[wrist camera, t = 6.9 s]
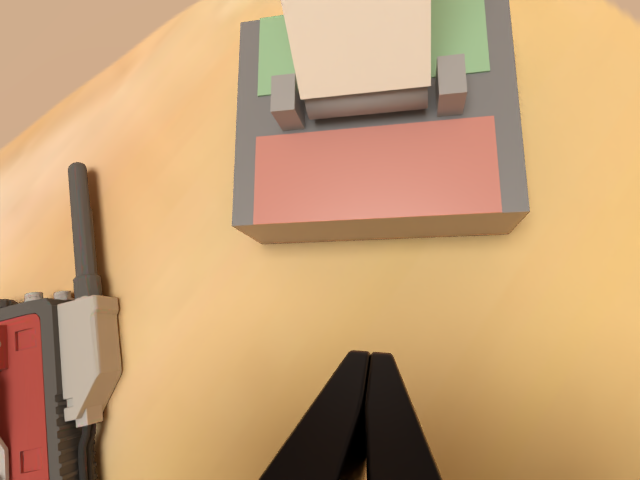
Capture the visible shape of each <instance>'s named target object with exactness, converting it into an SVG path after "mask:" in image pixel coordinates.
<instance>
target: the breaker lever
mask: <svg viewBox="0 0 640 480" xmlns="http://www.w3.org/2000/svg"><path fill="white" fill-rule="evenodd" d="M281 4H282V9H283V14H284V19H285V24H286V29H287V34H288V39H289V44H290V49H291V54H292V59H293V64H294V69H295V74H296V79H297V84H298V89H299V94H300V99H305V105H306V111H307V115H308V117H309V119H310V120H314V119H324V118H335V117H345V116H356V115H367V114H377V113H388V112H398V111H409V110H419V109H427V108H428V86H431V0H281Z"/></svg>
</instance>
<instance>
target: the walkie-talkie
mask: <svg viewBox="0 0 640 480" xmlns="http://www.w3.org/2000/svg"><path fill="white" fill-rule="evenodd" d="M68 177H69V190H70V203H71V217H72V230H73V243H74V256H75V269H76V278H74V280H73V283H74V296H75V298H71V291H59V292H55V293H54V299H49V298H44V299H43V293H42V292H32V293H27V294H25V301H24V302H23V303H19V304H18V303H17V302H15V301H14V300H8V299H0V480H96V478H98V476H97V474H96V472H95V467H96V466H97V464H96V462H95V460H94V455H96V451H94V447H93V444H95V440H93V439H94V436H95V434H96V423H97V422H101V421H103V411H104V409H105V407H106V405H107V403H108V401H109V399H110V397H111V395H112V392H113V390H114V388H115V386H116V384H117V382H118V380H119V378H120V376H121V373H122V366H121V355H120V344H119V334H118V323H117V314H118V311H119V307H118V298H116V297H108V296H102V285H101V277H100V276H99V275H98V273H97V261H96V250H95V238H94V226H93V214H92V209H91V207H90V201H89V190H88V180H87V169H86V166H85V165H84V164H83V163H79V162H76V163H73V164H71V165H70V166H69V168H68Z"/></svg>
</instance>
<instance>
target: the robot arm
mask: <svg viewBox="0 0 640 480" xmlns="http://www.w3.org/2000/svg"><path fill="white" fill-rule="evenodd" d="M366 466H367V480H442V478H441V475H440V473H439V470H438V468H437V465H436V463H435V460H434V458H433V455H432V453H431V450H430V447H429V445H428V442H427V440H426V437H425V435H424V432H423V430H422V427H421V425H420V422H419V420H418V417H417V415H416V412H415V410H414V407H413V405H412V402H411V400H410V397H409V395H408V392H407V389H406V387H405V384H404V382H403V379H402V377H401V374H400V372H399V369H398V367H397V364H396V362H395V359H394V357H393V355H392V354H391V353H382V352H373V353H372V354H370V353H369V352H367V351H354V350H353V351H350V352H349V353H348V354H347V355H346V357H345V358H344V359H343V361H342V362H341V364H340V365H339V366H338V368H337V369H336V371H335V372H334V373H333V375H332V376H331V378H330V379H329V381H328V382H327V383H326V385H325V386H324V388H323V389H322V390H321V392H320V393H319V395H318V396H317V398H316V399H315V400H314V402H313V403H312V405H311V406H310V407H309V409H308V410H307V412H306V413H305V415H304V416H303V417H302V419H301V420H300V422H299V423H298V424H297V426H296V427H295V429H294V430H293V432H292V433H291V434H290V436H289V437H288V439H287V440H286V441H285V443H284V444H283V446H282V447H281V449H280V450H279V451H278V453H277V454H276V456H275V457H274V458H273V460H272V461H271V463H270V464H269V466H268V467H267V468H266V470H265V471H264V473H263V474H262V475H261V477H260V478H259V480H364V475H365V469H366Z"/></svg>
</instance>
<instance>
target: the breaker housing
mask: <svg viewBox="0 0 640 480" xmlns="http://www.w3.org/2000/svg"><path fill="white" fill-rule="evenodd" d="M529 212H530V209H529V199H528V189H527V179H526V169H525V158H524V148H523V138H522V128H521V118H520V108H519V98H518V88H517V78H516V67H515V57H514V47H513V37H512V27H511V17H510V7H509V0H431V86H428V108H427V109H419V110H409V111H398V112H388V113H377V114H367V115H356V116H345V117H335V118H324V119H314V120H310V119H309V117H308V115H307V111H306V105H305V99H300V94H299V89H298V84H297V79H296V74H295V69H294V64H293V59H292V54H291V49H290V44H289V39H288V34H287V29H286V24H285V19H284V15H280V16H273V17H266V18H260V20H256V21H249V22H242V23H241V28H240V51H239V74H238V97H237V120H236V143H235V166H234V189H233V212H232V226H233V227H234V228H236V229H238V230H239V231H241V232H243V233H244V234H246V235H248V236H249V237H251V238H253V239H254V240H256V241H258V242H259V243H261V244H275V243H300V242H325V241H350V240H375V239H400V238H425V237H450V236H475V235H500V234H509V233H510V232H511V231H512V230H513V229H514V228H515V227H516V226H517V224H518V223H519V222H520V221H521V220H522V219H523V218H524V217H525V216H526V215H527V214H528V213H529Z"/></svg>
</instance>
